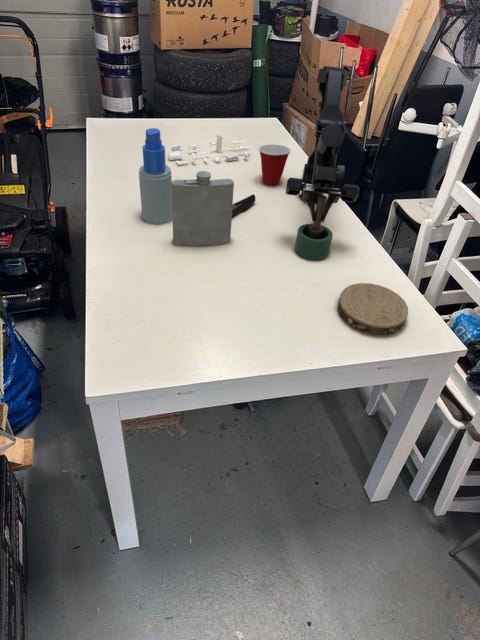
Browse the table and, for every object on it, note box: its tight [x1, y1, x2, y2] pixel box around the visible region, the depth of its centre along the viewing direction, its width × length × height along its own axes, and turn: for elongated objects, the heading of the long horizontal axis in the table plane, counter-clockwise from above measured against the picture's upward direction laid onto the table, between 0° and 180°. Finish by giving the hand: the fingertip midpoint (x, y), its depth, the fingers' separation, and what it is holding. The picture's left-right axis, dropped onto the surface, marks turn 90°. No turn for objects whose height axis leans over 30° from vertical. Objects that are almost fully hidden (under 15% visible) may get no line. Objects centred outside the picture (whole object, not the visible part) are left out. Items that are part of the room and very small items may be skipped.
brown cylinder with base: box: [307, 194, 328, 239], centre depth 122 cm, size 4×4×13 cm
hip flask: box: [171, 170, 235, 247], centre depth 121 cm, size 16×4×20 cm, turn 101°
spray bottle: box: [138, 127, 173, 225], centre depth 128 cm, size 9×9×25 cm
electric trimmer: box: [232, 194, 256, 217], centre depth 142 cm, size 4×16×3 cm, turn 143°
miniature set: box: [168, 134, 252, 166], centre depth 171 cm, size 6×35×12 cm
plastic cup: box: [258, 143, 292, 187], centre depth 156 cm, size 11×11×12 cm
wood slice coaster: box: [336, 282, 409, 337], centre depth 108 cm, size 16×16×3 cm
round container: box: [294, 223, 334, 262], centre depth 126 cm, size 9×9×6 cm
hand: (317, 221), depth 121 cm, fingers closed on brown cylinder with base, 2 cm apart
